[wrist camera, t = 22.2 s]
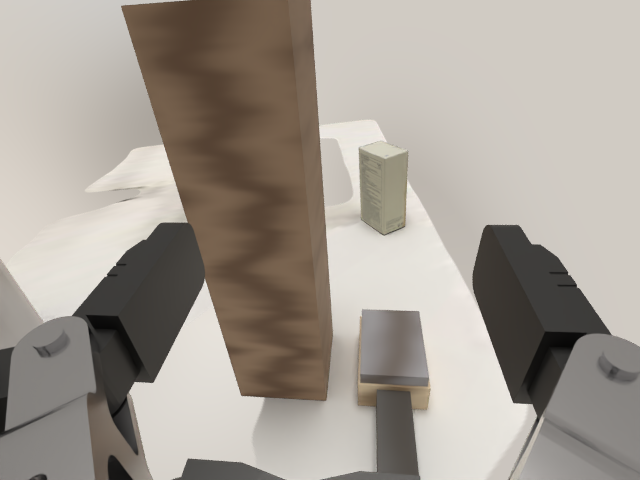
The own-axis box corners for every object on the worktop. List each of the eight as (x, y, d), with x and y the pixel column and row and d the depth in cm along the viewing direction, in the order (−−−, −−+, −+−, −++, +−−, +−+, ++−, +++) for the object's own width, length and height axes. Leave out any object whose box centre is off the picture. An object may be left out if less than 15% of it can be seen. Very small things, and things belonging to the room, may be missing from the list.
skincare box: (405, 227, 57) (411, 151, 50) (382, 236, 55) (385, 159, 49) (380, 210, 62) (382, 139, 55) (358, 218, 60) (357, 146, 53)
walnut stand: (241, 395, 35) (121, 5, 17) (261, 330, 41) (188, 0, 24) (326, 400, 34) (287, -8, 17) (332, 333, 40) (309, -9, 23)
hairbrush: (355, 516, 26) (354, 489, 24) (360, 336, 40) (360, 308, 38) (442, 525, 25) (450, 498, 23) (417, 338, 39) (420, 309, 37)
